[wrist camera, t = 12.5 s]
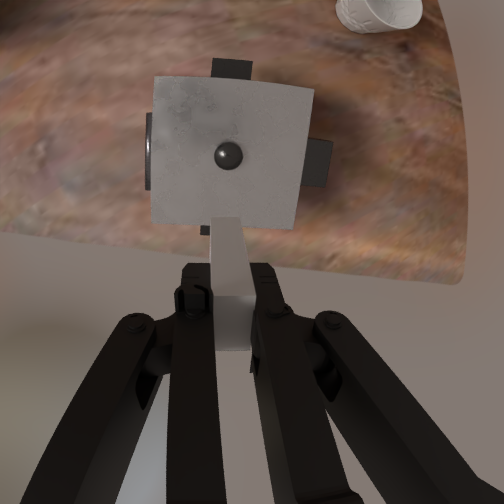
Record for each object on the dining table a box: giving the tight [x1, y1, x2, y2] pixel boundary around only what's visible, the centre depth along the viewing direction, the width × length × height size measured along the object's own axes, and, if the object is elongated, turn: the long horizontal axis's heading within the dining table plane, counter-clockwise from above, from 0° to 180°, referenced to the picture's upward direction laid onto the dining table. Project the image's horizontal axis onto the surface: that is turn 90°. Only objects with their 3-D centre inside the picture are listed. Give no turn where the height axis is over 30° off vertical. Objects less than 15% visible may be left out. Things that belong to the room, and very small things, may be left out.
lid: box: [145, 76, 333, 230], centre depth 31 cm, size 15×19×2 cm
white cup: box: [335, 0, 423, 34], centre depth 27 cm, size 8×8×10 cm
